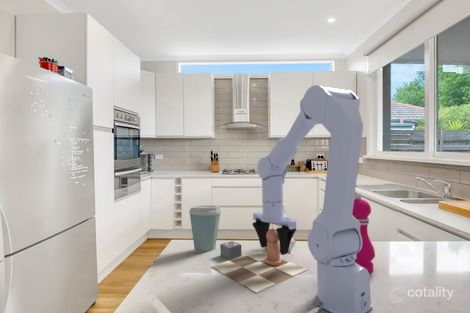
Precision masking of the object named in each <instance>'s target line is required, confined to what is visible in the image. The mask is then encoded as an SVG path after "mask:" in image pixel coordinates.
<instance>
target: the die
mask: <svg viewBox="0 0 470 313" xmlns="http://www.w3.org/2000/svg"><path fill="white" fill-rule="evenodd" d="M219 244H220V245H219V246H220V247H219V248H220V250H219V251H220V252H219V253H220V256H221V257H223V258H225V259H226V260H227V261H231V260H234V259H237V258H241V257H243V256H242V244H241V243H238V242H236V241H233V240H231V241H228V242H224V243H219Z"/></svg>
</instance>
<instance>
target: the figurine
mask: <svg viewBox="0 0 470 313" xmlns="http://www.w3.org/2000/svg"><path fill="white" fill-rule="evenodd" d="M283 215H284V217H287V208H286V203H284V202H283ZM276 226H277V228H282V226H279V225H276ZM277 228H276V229H277ZM296 243H297V242H296V240H295V239H294V237H292V239H291V242H290V246H289V250H288V253H291V252H292V250H293V248H294V247H295V245H296ZM279 248H280V241H279Z"/></svg>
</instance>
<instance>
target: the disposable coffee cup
mask: <svg viewBox="0 0 470 313" xmlns="http://www.w3.org/2000/svg"><path fill="white" fill-rule="evenodd" d="M188 211H189V213H188V214H189V219H190V226H191V232H192V241H193V247H194V250H195V253H196V252H197V253H196V254H198V253H200V254H202V253H207V252H211V251H214V250H216V246H217V240H218V239H217V238H218V231H219V224H220V218H221V214H222V210H221V207H220V206H219V205H215V204H214V205H212V204H204V205H203V204H202V205H195V206H194V205H193V206H191V207H190V209H189V210H188Z"/></svg>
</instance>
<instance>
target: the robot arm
mask: <svg viewBox="0 0 470 313" xmlns="http://www.w3.org/2000/svg"><path fill="white" fill-rule="evenodd" d="M360 104H361V98H359V97H358V95H356V94H355V93H354V92H353V91H352V90H350V89H342V88H341V89H340V88H333V87H328V86H327V87H326V86H321V85H318V84H314V85H312V86H310V87H308V88H307V89H306V91H305V93H304V95H303V97H302V98H301V100H300V101H299V109H300V111H299V113H298V115H297V117H296V119H295V120H294V122H293V124H292V126H291V127H290V129H289V131H288V133H287V134H286V136H285V137H281V138H279V139H277V140H276V143H275V144H274V146H273V148H272V149H271V150H270V152H269V154H268V155H266V156H264V157H261V158H260V159H259V161H258V163H257V167H256V168H257V173H258V174H257V175H258V176H259V177H260V178H261V191H262V193H261V199H262V212H254V213H253V214H252V215H253V217H252V220H253V221H255V222H253V223H252V227H253V228H254V229H255V230H254V231H255V232H256V234H257V237H258V240H259V244H260V247H261V248H267V238H266V233H267V231H268V230H270V226H271V224H272V225H276V226H277V225H279V226H282V228H275V229H276V231H277V233H278V237H279V241H280V255H282V256H284V255H287V254H288V253H289V252H288V250H289V246H290V242H291V239H292V238H294V237H293V236H294V235H295V233H296V231H297V220H295V219H291V218H290V217H289V218H288V217H287V216H286V217H284V215H283V203H284V187H283V186H284V184H285V182H286V181H285V179H286V175H287V172H288V165H289V164H290V162H292V160H293V159H294V158H295V157H296V156H297V153H298V152H299V148H298V145H299V144H300V143H301V142H302V141H303V140H304V138H305V137H306V136H307V135H308V134H309V133H310V132H311V130H312V129H313V128H314V127H315V126H316V125H320V124H321V126H323V127H324V128H325V129H326V130H327V132H329V134H330V140H329V150H328V159H327V169H326V177H325V186H324V187H325V189H324V195H323V197H324V198H323V206H322V211H321V212H320V213H319V215H317V216H316V217H315V219H314V220H312V227H311V230H310V232H309V233H308V236H307V246H308V249H309V252H310V253H311V255H312V257H313V260H316V275H317V276H316V277H317V278H316V280H317V298H318V300H319V301H320V303H319V304H317V306H318V307H319V308H321V309H323V310H326V311H327V312H330V313H367V312H369V311H370V310H371V309H372V308H373V304H372V301H371V300H372V299H371V298H372V297H371V276H370V273H369V272H368V270H367V269H365V268H364V267H361V266H360V265H358V264H357V263H356V262H355V259H357V257H356V253H358V252H359V251H360V250H361V248H362V237H361V233H360V225H361V224H360V222H359V221H358V220H357V219H356V218H355V217H354V216H353V215H352V212H353V204H354V199H355V197H354V196H355V194H356V189H357V188H356V187H357V179H358V171H359V163H360V162H359V161H360V155H361V148H362V140H363V131H364V123H363V119H362V116H361V113H360Z"/></svg>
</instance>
